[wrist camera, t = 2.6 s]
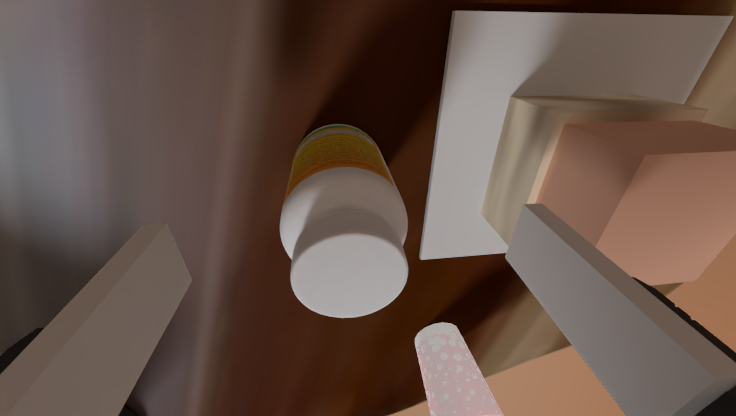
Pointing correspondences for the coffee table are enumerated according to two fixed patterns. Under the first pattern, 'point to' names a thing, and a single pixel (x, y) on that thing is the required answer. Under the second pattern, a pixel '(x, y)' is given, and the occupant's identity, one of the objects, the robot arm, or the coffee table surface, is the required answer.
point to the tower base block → (554, 143)
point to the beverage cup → (452, 374)
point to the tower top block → (647, 193)
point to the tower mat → (541, 94)
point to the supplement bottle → (343, 224)
